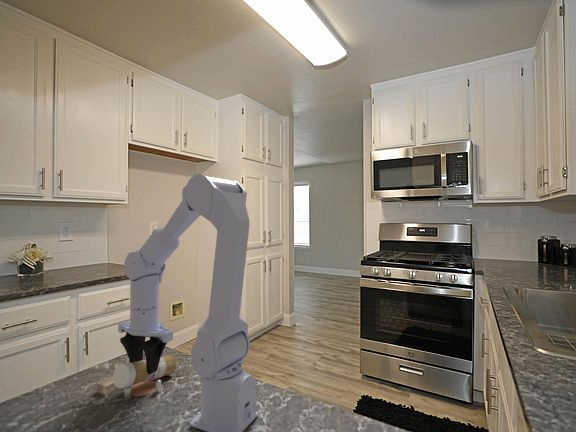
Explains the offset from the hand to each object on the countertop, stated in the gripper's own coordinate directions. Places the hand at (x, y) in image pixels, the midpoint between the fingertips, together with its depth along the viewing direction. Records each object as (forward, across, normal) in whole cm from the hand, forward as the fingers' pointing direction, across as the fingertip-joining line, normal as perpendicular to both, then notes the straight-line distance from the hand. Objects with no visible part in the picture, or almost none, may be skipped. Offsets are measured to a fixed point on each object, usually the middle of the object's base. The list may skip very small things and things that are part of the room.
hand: (144, 369), depth 68 cm
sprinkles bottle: (+2, 0, -7) cm, 8 cm away
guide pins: (+4, 0, 0) cm, 4 cm away
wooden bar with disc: (+4, 0, 0) cm, 4 cm away
